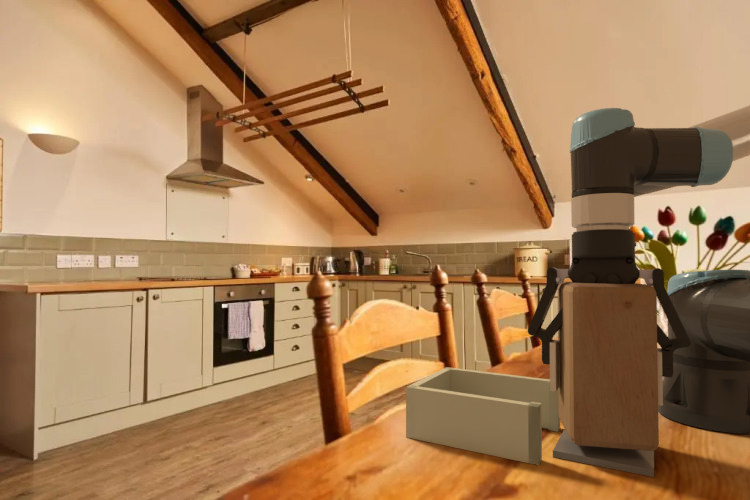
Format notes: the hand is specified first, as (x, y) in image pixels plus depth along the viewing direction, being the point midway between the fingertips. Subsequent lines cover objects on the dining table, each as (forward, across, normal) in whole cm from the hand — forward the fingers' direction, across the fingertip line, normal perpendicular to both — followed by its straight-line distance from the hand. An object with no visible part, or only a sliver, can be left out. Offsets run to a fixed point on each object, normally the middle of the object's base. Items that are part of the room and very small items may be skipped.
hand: (604, 395), depth 62 cm
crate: (+7, +16, +2) cm, 17 cm away
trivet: (+7, 0, 0) cm, 7 cm away
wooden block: (+6, 0, 0) cm, 6 cm away
